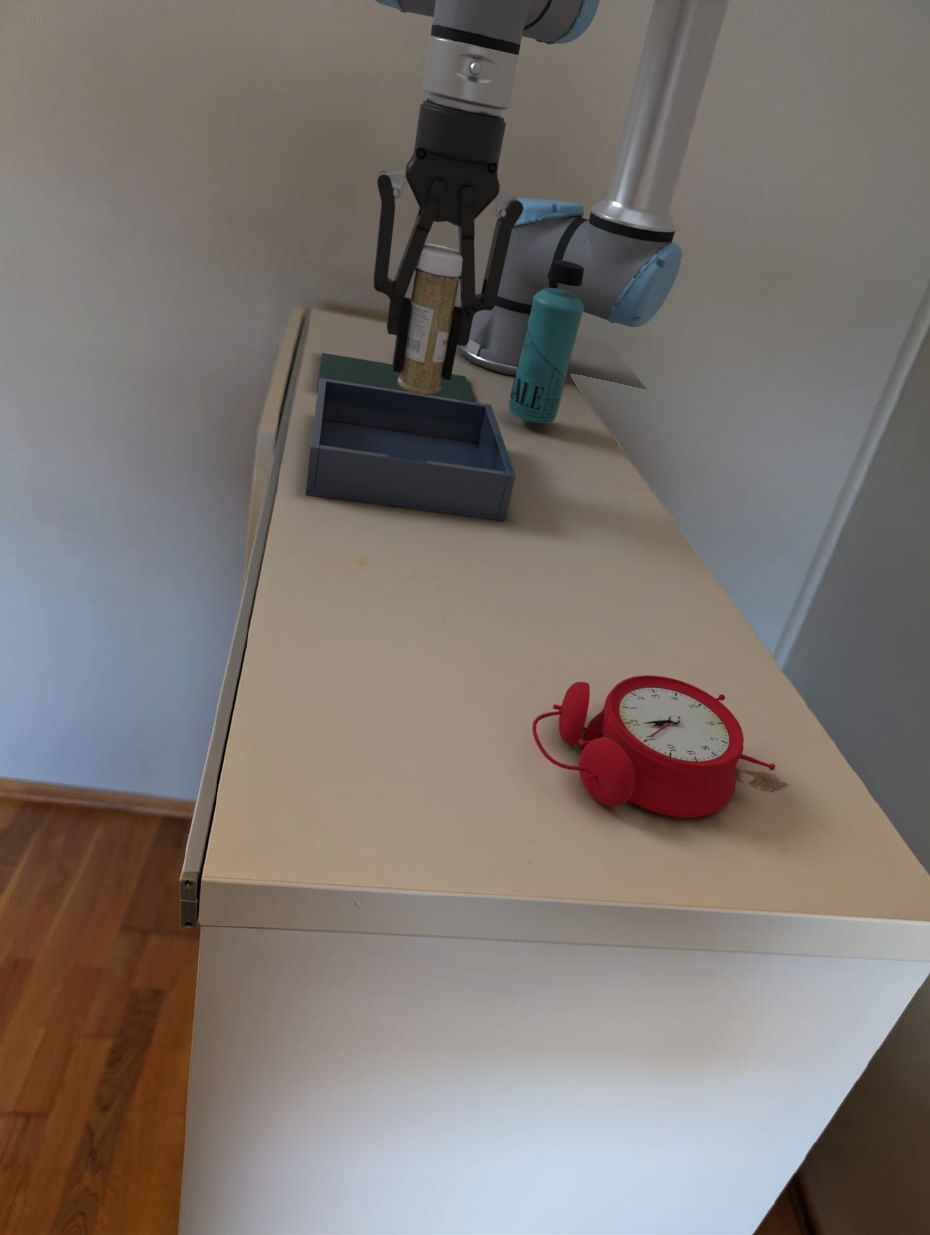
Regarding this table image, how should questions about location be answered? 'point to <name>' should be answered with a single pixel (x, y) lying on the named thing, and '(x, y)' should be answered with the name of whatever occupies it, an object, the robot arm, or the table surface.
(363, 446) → the open box
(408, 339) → the sprinkles bottle
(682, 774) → the alarm clock
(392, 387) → the mat
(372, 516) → the table surface
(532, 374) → the beverage bottle
